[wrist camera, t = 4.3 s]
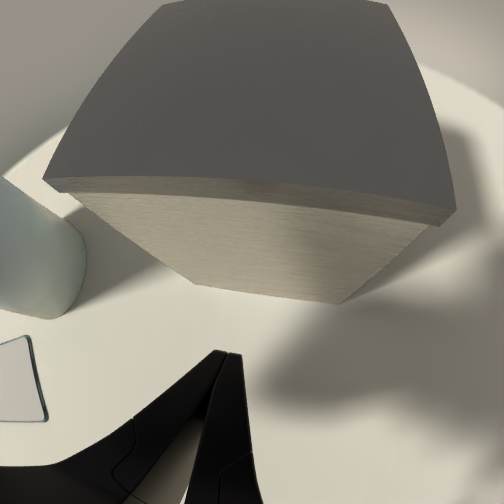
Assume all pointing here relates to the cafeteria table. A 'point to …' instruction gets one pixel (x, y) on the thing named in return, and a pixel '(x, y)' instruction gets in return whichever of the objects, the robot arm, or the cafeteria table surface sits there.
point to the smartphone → (20, 383)
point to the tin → (262, 145)
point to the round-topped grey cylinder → (37, 257)
